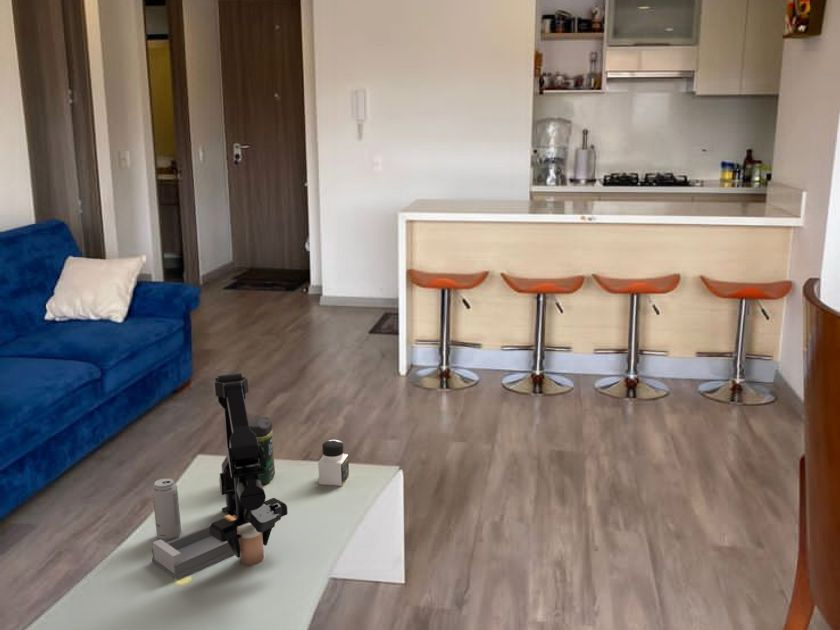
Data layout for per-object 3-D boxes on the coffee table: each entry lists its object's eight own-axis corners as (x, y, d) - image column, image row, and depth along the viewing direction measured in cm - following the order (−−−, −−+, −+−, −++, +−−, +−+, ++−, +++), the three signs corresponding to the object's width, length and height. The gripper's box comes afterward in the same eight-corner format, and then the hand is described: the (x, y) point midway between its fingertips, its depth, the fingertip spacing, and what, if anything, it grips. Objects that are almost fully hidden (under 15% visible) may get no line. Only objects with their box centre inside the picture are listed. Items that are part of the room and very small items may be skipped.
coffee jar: (269, 486, 231) (265, 426, 227) (242, 485, 232) (238, 425, 228) (278, 472, 241) (275, 414, 237) (253, 471, 242) (249, 413, 237)
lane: (152, 561, 192) (150, 540, 191) (237, 525, 209) (235, 506, 208) (178, 579, 184) (175, 558, 183) (263, 540, 201) (262, 520, 200)
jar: (235, 559, 193) (233, 528, 191) (255, 550, 196) (253, 520, 195) (249, 567, 189) (246, 536, 187) (268, 558, 193) (266, 527, 191)
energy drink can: (158, 531, 206) (153, 478, 203) (182, 529, 207) (177, 475, 204) (155, 543, 200) (150, 488, 197) (180, 540, 202) (175, 486, 198)
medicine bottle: (342, 486, 231) (340, 447, 228) (318, 484, 232) (317, 446, 229) (349, 476, 238) (347, 438, 235) (326, 474, 239) (324, 436, 236)
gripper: (232, 516, 177) (237, 579, 180) (299, 488, 190) (303, 547, 193) (205, 500, 184) (210, 561, 188) (272, 475, 197) (275, 532, 201)
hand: (251, 551), depth 192 cm, fingers open, 7 cm apart
